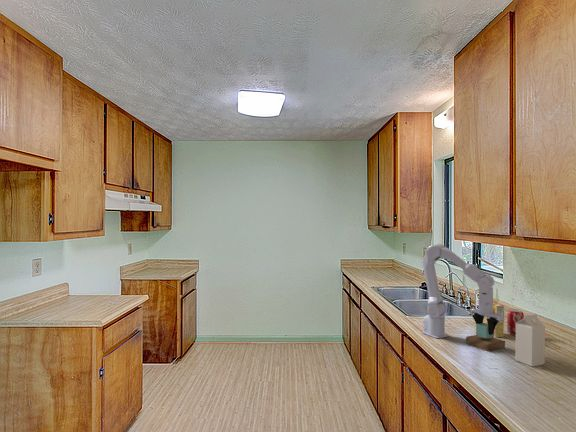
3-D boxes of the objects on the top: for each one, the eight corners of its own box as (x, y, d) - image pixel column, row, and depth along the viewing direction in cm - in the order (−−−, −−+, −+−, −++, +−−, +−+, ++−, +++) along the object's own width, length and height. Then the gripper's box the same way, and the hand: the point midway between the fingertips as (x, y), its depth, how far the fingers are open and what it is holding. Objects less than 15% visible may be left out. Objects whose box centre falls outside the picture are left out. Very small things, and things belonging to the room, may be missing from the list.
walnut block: (466, 344, 171) (466, 336, 171) (482, 341, 175) (482, 333, 175) (487, 352, 161) (487, 344, 161) (504, 349, 165) (504, 341, 165)
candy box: (484, 331, 189) (484, 301, 189) (492, 331, 189) (492, 301, 189) (496, 337, 180) (496, 305, 180) (504, 337, 180) (504, 305, 180)
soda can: (527, 335, 183) (527, 311, 183) (516, 337, 181) (517, 312, 181) (513, 331, 190) (514, 307, 190) (503, 332, 187) (504, 309, 187)
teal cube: (476, 335, 169) (476, 324, 169) (483, 333, 171) (483, 322, 171) (486, 338, 165) (486, 327, 165) (493, 337, 167) (493, 325, 167)
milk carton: (515, 360, 151) (515, 313, 151) (527, 358, 154) (528, 312, 154) (532, 367, 144) (532, 317, 144) (544, 364, 147) (545, 316, 147)
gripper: (465, 299, 173) (465, 329, 173) (494, 306, 160) (494, 338, 160) (476, 298, 176) (475, 327, 176) (505, 305, 163) (505, 336, 163)
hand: (485, 332), depth 168 cm, fingers closed on teal cube, 5 cm apart
